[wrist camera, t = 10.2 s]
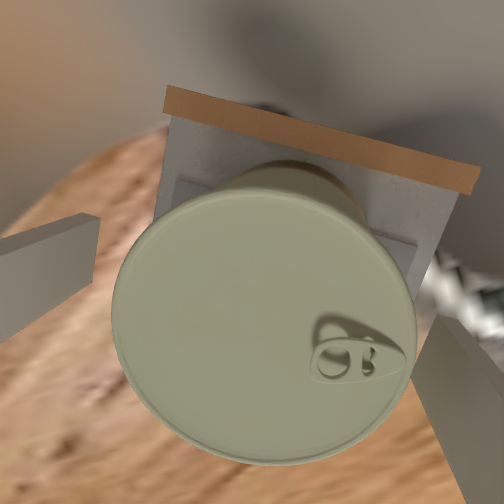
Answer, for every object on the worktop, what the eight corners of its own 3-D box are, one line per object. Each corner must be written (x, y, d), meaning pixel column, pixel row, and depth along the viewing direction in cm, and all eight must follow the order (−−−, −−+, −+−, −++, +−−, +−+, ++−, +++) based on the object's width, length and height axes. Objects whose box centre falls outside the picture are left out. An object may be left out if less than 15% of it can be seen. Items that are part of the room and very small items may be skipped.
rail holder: (145, 294, 26) (107, 328, 22) (182, 90, 22) (146, 77, 18) (380, 366, 25) (395, 419, 20) (463, 165, 21) (506, 173, 16)
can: (356, 324, 23) (395, 505, 12) (204, 307, 24) (107, 455, 13) (378, 165, 21) (458, 200, 9) (207, 154, 22) (89, 173, 10)
